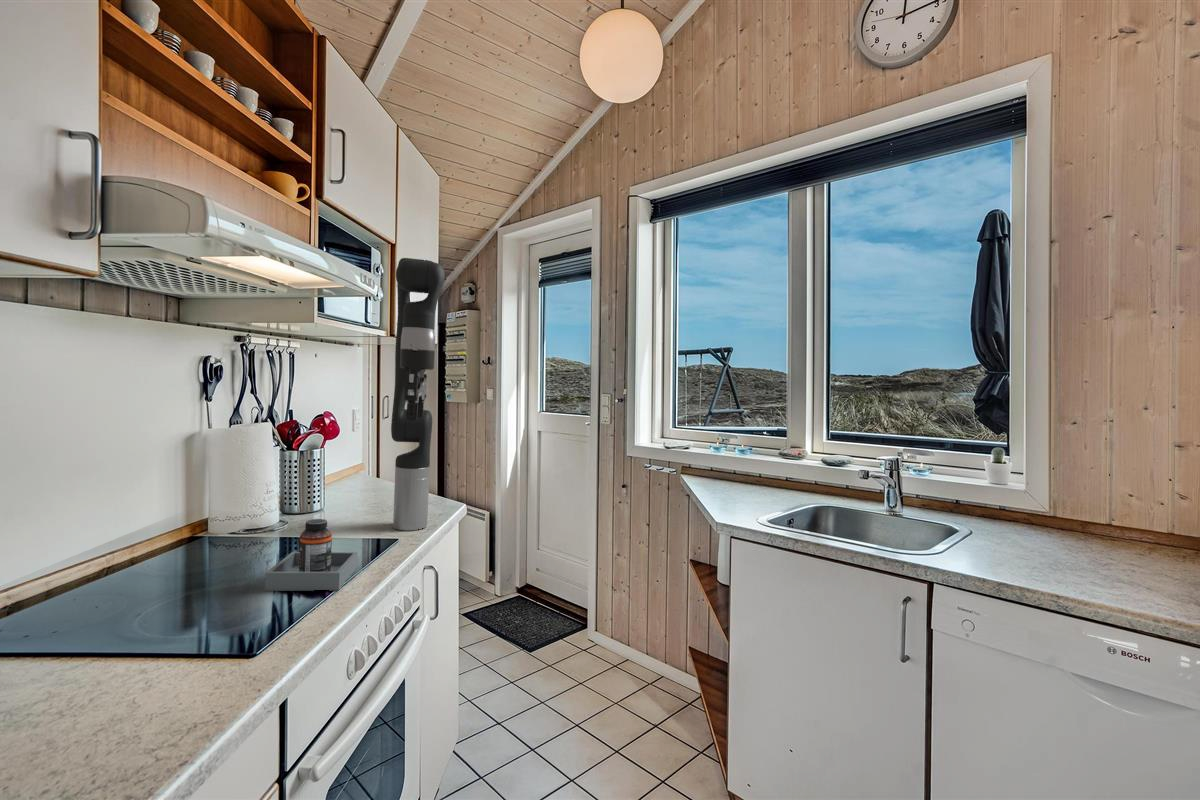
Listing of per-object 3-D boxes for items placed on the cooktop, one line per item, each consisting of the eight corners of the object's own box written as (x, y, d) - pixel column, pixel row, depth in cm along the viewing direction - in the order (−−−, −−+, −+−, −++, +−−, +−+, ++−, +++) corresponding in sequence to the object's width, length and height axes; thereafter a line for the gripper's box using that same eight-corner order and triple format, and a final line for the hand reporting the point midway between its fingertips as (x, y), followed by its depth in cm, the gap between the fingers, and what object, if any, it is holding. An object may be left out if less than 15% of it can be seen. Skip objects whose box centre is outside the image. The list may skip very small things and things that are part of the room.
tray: (291, 567, 125) (292, 551, 124) (357, 567, 127) (357, 552, 127) (264, 590, 111) (265, 573, 111) (338, 590, 113) (339, 572, 113)
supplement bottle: (299, 571, 120) (301, 518, 120) (330, 569, 123) (332, 516, 122) (297, 581, 115) (299, 525, 114) (330, 578, 117) (332, 523, 117)
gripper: (406, 349, 138) (404, 416, 139) (394, 345, 124) (391, 420, 125) (438, 350, 139) (435, 417, 140) (430, 347, 125) (427, 421, 126)
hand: (415, 418), depth 132 cm, fingers open, 8 cm apart
